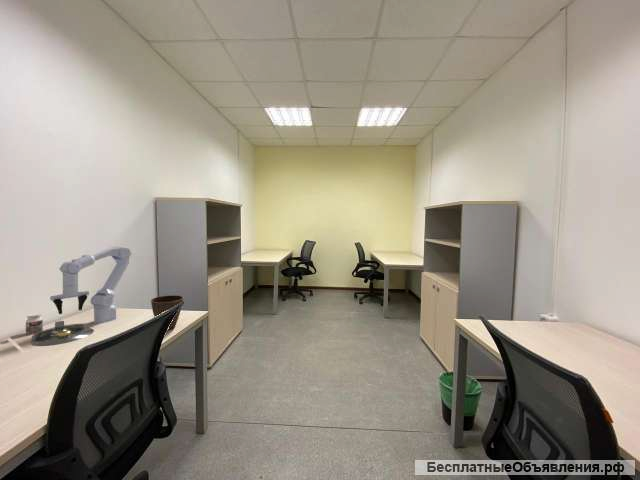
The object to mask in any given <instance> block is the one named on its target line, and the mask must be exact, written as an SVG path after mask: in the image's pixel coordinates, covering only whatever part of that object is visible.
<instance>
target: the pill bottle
mask: <svg viewBox="0 0 640 480" xmlns="http://www.w3.org/2000/svg"><path fill="white" fill-rule="evenodd" d="M26 318H27V319H26V321H25V335H26V336H27V335H28V336H29V335H34V334H36V333H38V332H40V331H43V330H44V329H43V326H44V325H43V323H44V322H43V317H42V313H41V312H37V313H30V314H27V316H26Z"/></svg>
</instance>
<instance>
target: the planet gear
mask: <svg viewBox="0 0 640 480" xmlns="http://www.w3.org/2000/svg"><path fill="white" fill-rule="evenodd" d="M64 325H65V321H64V320H59V321H55V322H54V327H55V330H53V331H52V335H57V332H60V331H64V330H67V328H64Z"/></svg>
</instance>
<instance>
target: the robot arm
mask: <svg viewBox="0 0 640 480" xmlns="http://www.w3.org/2000/svg"><path fill="white" fill-rule="evenodd" d="M131 256H132V252H131V249H130V248H129V247H128V246H117V245H116V246H114V245H113V246H111V247H108V248H106V249H104V250H101V251H99V252H96V253H95V254H91V255H90V254H82V255H81V256H79V257H78V258H72V259H71V260H70V261H64V262H63V263H62V264H61V265H60V267H59V271H60V272H61V274H62V294H57V295H51V296H49V299H50V300H49V301H52V302H53V304H54V305H55V307H56V309H57V313H58V315H62V314H63V300H64V299H72V298H77V299H78V300H77V301H78V304H77V305H78V311H82V310H83V307H84V304H85V302H86V300H87V298H88V296H90V291H88V290H87V291H86V290H85V291H79V273H80V271H81V270H82V269H86V268H88V267H90V266H92V265H94V264H95V263H96V261H99V260H102V259H105V258H107V257H112V259H113V260H114V262H116V264H115V266H114V268H113V269H112V271H111V273H110V274H109V276H108V277H107V279H106V281H105V283H104V285H103V286H102V288H101V289H99V290H97V291H96V293H95V294H93V296H91V298H90V304H91V305H93V324H94V323H95V324H103V323H107V322H110V321H114V320H117V308H116V306H115V304H113V303H114V299H115V296H116V295H115V292H114V291H115V289H116V287H117V286H118V284H119V282H120V281H121V279H122V276H123V275H124V273H125V271H126V269H127V267H128V266H129V264H130V257H131Z"/></svg>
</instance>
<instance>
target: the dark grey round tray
mask: <svg viewBox="0 0 640 480" xmlns="http://www.w3.org/2000/svg"><path fill="white" fill-rule="evenodd" d="M64 328H67V330H64V331H60V332H57V335H52V331H53V330H55V326H54V327H51V328H47V329H43V331H40V332H38V333H36V334H31V341H30V345H32V346H35V347H49V346H51V347H52V346H57V345H64V344H68V343H73V342H75V341H78V340H82V339H85V338H86V337H89V336H90V335H92V334H93V333H94V331H95V330H94V329H93V328H91V327H85V323H84V322H83V323H71V324H64Z"/></svg>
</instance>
